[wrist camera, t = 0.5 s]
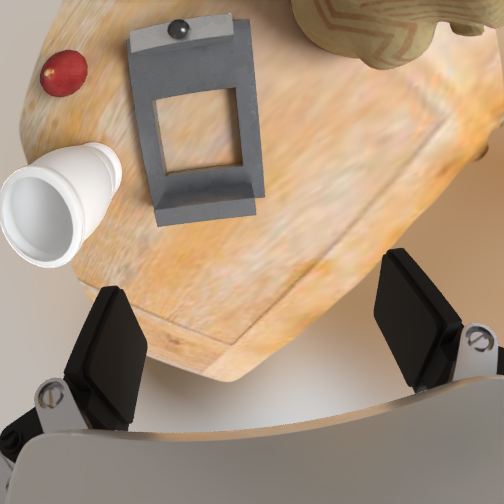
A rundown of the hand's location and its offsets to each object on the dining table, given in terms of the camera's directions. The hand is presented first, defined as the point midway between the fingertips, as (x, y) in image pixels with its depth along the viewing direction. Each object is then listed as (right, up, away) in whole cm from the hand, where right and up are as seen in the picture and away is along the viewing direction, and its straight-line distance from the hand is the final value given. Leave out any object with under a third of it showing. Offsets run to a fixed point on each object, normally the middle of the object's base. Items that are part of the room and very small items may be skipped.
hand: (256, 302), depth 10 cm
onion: (-22, +24, +17) cm, 37 cm away
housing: (-7, +18, +22) cm, 29 cm away
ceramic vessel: (+11, +31, +16) cm, 36 cm away
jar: (-21, +12, +25) cm, 35 cm away
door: (-7, +25, +16) cm, 31 cm away
